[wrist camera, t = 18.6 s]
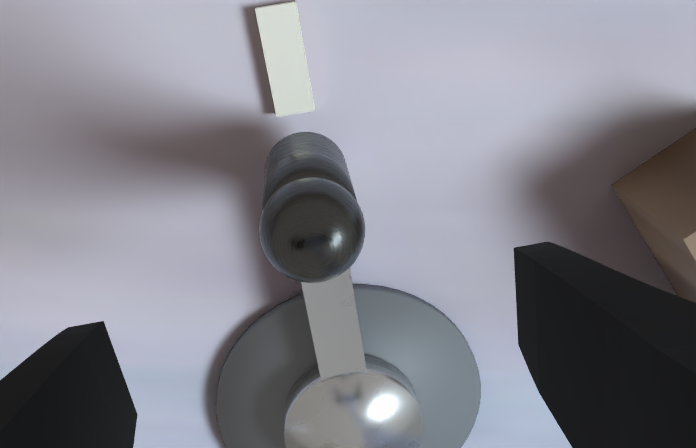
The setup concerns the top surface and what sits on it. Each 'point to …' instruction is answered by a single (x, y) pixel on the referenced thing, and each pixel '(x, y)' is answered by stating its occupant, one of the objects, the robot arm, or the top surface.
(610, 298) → the robot arm
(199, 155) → the top surface
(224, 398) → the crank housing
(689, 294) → the brown wooden block
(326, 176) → the crank
